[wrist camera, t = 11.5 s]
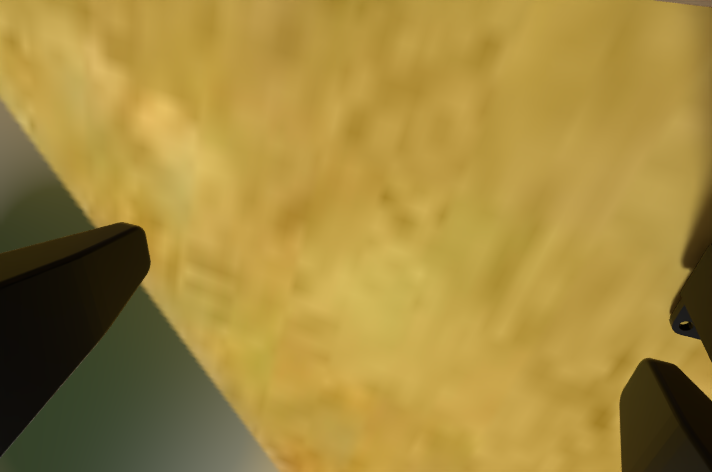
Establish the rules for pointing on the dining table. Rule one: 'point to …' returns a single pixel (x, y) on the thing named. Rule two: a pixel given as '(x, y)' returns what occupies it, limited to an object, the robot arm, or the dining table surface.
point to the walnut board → (692, 2)
